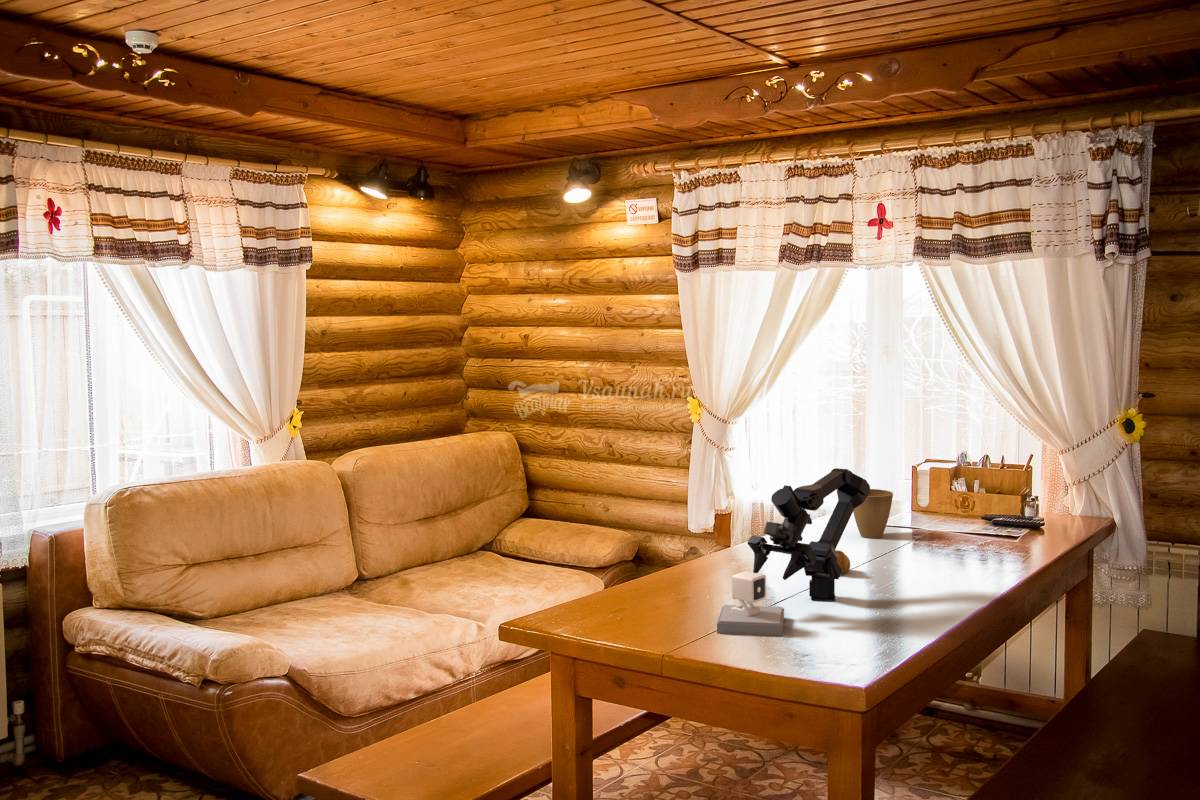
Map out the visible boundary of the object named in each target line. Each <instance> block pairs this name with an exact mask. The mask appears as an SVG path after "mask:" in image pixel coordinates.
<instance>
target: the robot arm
mask: <svg viewBox="0 0 1200 800" xmlns="http://www.w3.org/2000/svg"><path fill="white" fill-rule="evenodd" d="M870 489H871V486H870V484H869V483H868V481H867V480H866V479H865V478H863V477H861V476H859V475H857V474H855V473H853V472H852V471H851V470H849V469H847V468H839V467H836V468H832V469H831V471H830V472H829V473H827V474H826V475H824V476H823V477H821V478H820V479H818V480H817V481H815V482H814V483H812V484H808V485H802V486H801V485H800V486H797V487H796V488H795V489H794V490H793V487H792V486H791V485H783V487H782V488H780V489H778V490H776V491H775V492H774V493H772V495H771V502H772V504H773V506H774V507H775V509H776V510H777V511H778V513H779V514H780V516H781V517H782V518H784V520H783V521H782V523H778V522H772V521H766V523H765V527H764V530H763V534H764V535H768V536H769V540H770V541H771V542H772V543H769V542H768V541H767V540H766V538H765V537H764V536H758V535H752V536H750V537H749V538H748V541H747V545H748V546H749V547H750V549H751V550H752V552H753V554H754V555H753V556H754V558H753V559H754V561H753V569H752V570H753V571H752V573H758V574H759V572H760V571H761V569H762V568H763V566H764V565H765V564H766V562H767V560H768V559H769V558H768V556H769V555H770V554H771V552H773V553H781V554H786V555H790V560H789V562H788V563H787V566H786V568H785V570H784V573H783V576H782V579H783V580H784V581H786V580H788V579H789V578H790V577H792V576H793V575H794V574H795V573H798V572H799V571H801V570H802V569H804V573H805V576H809V577H811V579H809V583H808V584H809V585H808V587H809V597H810V599H811V601H824V602H827V601H828V602H835V601H836V595H835V593H836V591H835V589H836V588H835V587H836V586H835V585H836V584H835V582H836V581H835V580H838V579H840V578H841V577H842V576H841V568H840V567H839V565H838V564H837V562H836V561H837V555H836V550H837V546H838V544H839V542H840V541H841V538H842V536H843V534H844V531H845V529H846V528H847V526H848V523H849V522H850V518H851V517H852V515H853V514H854V513H853V510H854V509H855V508H856V507H858V506H859V505H861V504H862V503H863V502H864V501H865V499H866V498H867V496H868V494H869V492H870ZM835 491H836V494H837V498H838V500H837V503H836V505H835V506H834V509H833V510H832V513H831V515H830V517H829V519H828V521H827V523H826V525H825V528H824V529H823V532H822V534H821V535H820V538H819V540H818V541H813V540H812V541H810V542H809V543H804V542H803V543H802V541H803V539H804V538H803V536H802V534H803V532H804V530H805V528H806V526H807V525H812V524H813V521H812V520H813V519H812V518H811V513H808V512H807V511H812V512H816V511H818V510H819V508H821V506H822V505H823V504H824V499H825V498H826V497H828V496H829V495H831V494H832V493H833V492H835Z"/></svg>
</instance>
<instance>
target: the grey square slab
mask: <svg viewBox="0 0 1200 800" xmlns="http://www.w3.org/2000/svg"><path fill="white" fill-rule="evenodd" d="M735 606H737V607H738V605H737V604H724V605H722V608H721V611H720V613H719V615H718V619H717V621H716V633H717V634H727V633H729V634H730V635H731V634H732V635H734V634H735V635H752V636H753V635H756V636H778V637H780V636H781V637H782V636H783V630H784V622H785V621H784V620H785V608H784V607H782V606H770V605H769V606H764V605H756V606H757V607H760V612H759V613H756V614H754V615H751V616H744V615H739V614H734V613H731V608H732V607H735Z"/></svg>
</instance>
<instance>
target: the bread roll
mask: <svg viewBox="0 0 1200 800" xmlns="http://www.w3.org/2000/svg"><path fill="white" fill-rule="evenodd" d="M835 550H836V555H837V561H836V562H837V564H838V565H839V567H840V568H841V575H844V574H846V573H848V572H849V571H850V568H851V561H850V559H849V557H848V555H846V554H845V552H843V551H842V550H838V549H835Z"/></svg>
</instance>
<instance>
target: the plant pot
mask: <svg viewBox="0 0 1200 800" xmlns="http://www.w3.org/2000/svg"><path fill="white" fill-rule="evenodd" d="M893 496H894V492H893V491H890V490H886V489H880V488H879V489H878V488H876V489H875V488H870V492H869V494H868V496H867V498H866V499H865V501H864V502H863V503H862V504H861V505H859V506H858V507H856V508H855V509H854V510H853V513H852V514H853V516H854V520H855V524H856V527H857V530H858V532H859V535H860V537H862V538H864V539H881V538H882V537H883V535H884V532H885V530H886V528H887V525H888V521H889V517H890V514H891V508H892V505H893V504H892V502H893V499H894V498H893Z"/></svg>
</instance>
